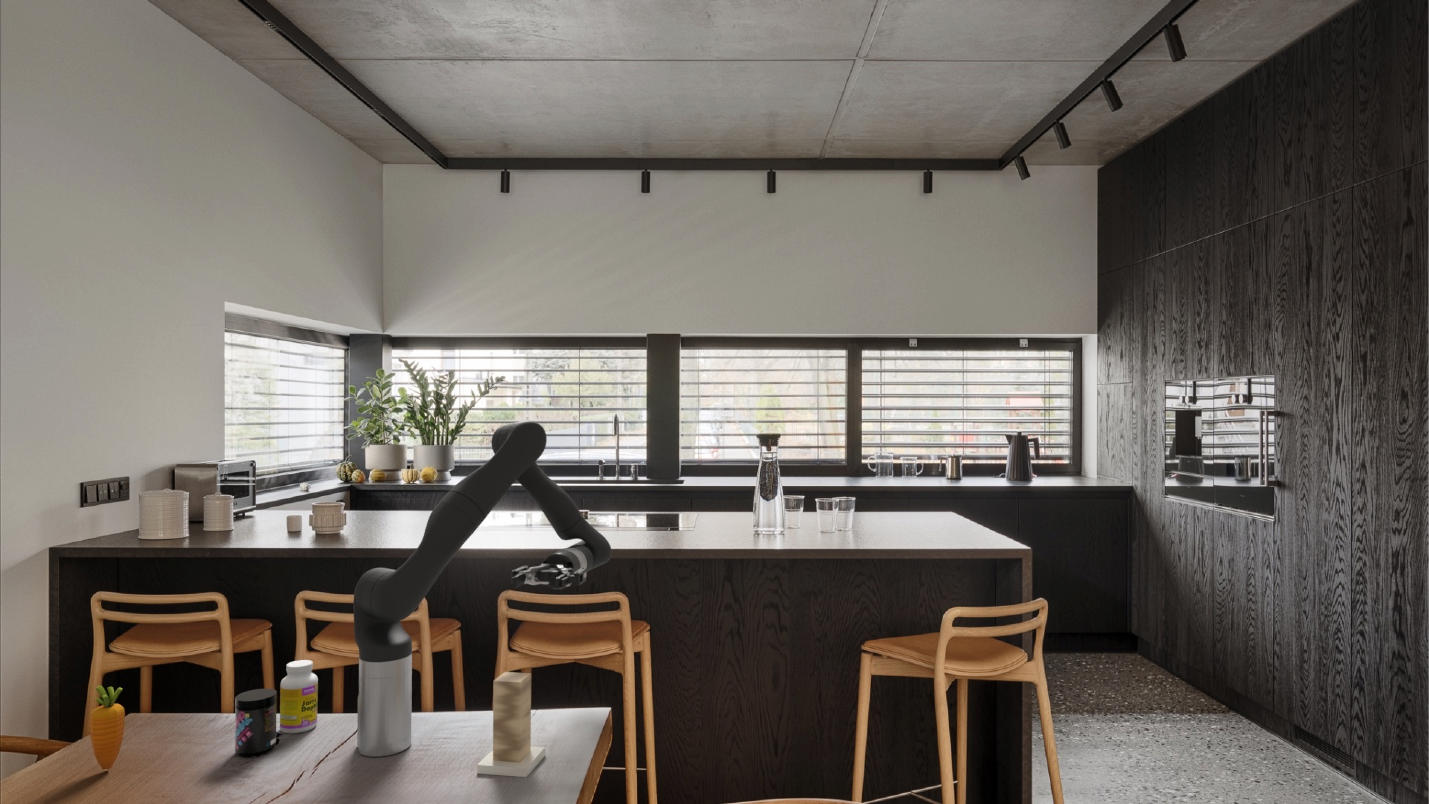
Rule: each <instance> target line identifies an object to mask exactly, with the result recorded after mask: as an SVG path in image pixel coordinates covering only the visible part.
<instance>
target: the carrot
mask: <svg viewBox="0 0 1429 804" xmlns="http://www.w3.org/2000/svg"><path fill="white" fill-rule="evenodd" d="M95 690H96V692H97V694H98V695H99V696H100V697H95V698H94V701H96V702H97V703H98V704H100V706H98V707H96V708H95V709H93V710H92V711H91V712H90V714H89V731H90V732H89V733H90V742H91V746H92V750H93V755H94V757H95V759H96V762H97V763H98V765H99V766H100V768H101V769H102V770H103V769H110V768H111V769H112V767H113V766H114V764H115V762H116V760H117V758H118V755H119V754H120V751H121V746H122V743H123V740H124V739H123V738H124V732H125V717H126V716H125V715H126V711H125V707H124V706H122V705H121V704H119V703H115V702H116V700H117V699H118V697H119V695H120V694H121V692H123V688H122V687H118V688H117V689H116V690H114V687H113V686H109V687H107V691H108V693H107V691H106V690H105V688H104V687H103V686H102V685H97V687H96V688H95ZM108 695H109V696H108Z"/></svg>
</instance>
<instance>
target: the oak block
mask: <svg viewBox="0 0 1429 804" xmlns="http://www.w3.org/2000/svg"><path fill="white" fill-rule="evenodd" d="M492 688H493V689H492V690H493V693H492V694H493V695H492V696H493V699H492V701H493V704H492V708H493V709H492V716H493V717H492V719H493V720H492V721H493V722H492V735H493V736H492V750H493V761H506V762H521V761H522V760H523V759H524V757H525V756H526V755H527V754H528V753H529V752H530V751H531V746H532V743H531V742H532V741H531V739H532V738H531V737H532V736H531V735H532V730H531V729H532V727H531V726H532V719H531V718H532V673H530V672H514V671H512V672H511V671H504V672H503V673H502V674H501V675H499V676H497V677H496V678H495V679H493V687H492Z"/></svg>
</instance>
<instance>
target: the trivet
mask: <svg viewBox="0 0 1429 804" xmlns="http://www.w3.org/2000/svg"><path fill="white" fill-rule="evenodd" d="M545 756H546V746H533V745H531V751H530V752H529V753H528V754H527V755H526V756H525V757H524V759H523V760H522V761H521V762H506V761H493V749H492V750H491V751H490V752H488V754H486V756H485V757H484V758H483V759H482V760H481V761H480V762H479V763H478V764H477V766H476V767H477V768H476V774H478V775H479V774H480V775H481V774H482V775H493V776H507V777H518V778H519V777H520V778H527V777H528V776H529V775H530V774H531V773H532V771H533V770H534V769H535V768H536V767H537V765H539V763H540V762H541V761H542V760H543V759H544V757H545Z"/></svg>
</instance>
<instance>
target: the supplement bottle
mask: <svg viewBox="0 0 1429 804" xmlns="http://www.w3.org/2000/svg"><path fill="white" fill-rule="evenodd" d="M313 666H314V662H313V661H312V660H310V659H309V660H308V659H301V660H294V661H290V662H288V663H287V664H286V669H285V671H286V673H287V675H286V676H285V677H284V678H282V679H281V681H280V697H279V698H280V699H279V701H280V702H279V703H280V705H279V710H280V711H279V730H280V732H282V733H285V734H300V733H305V732H308V731H310V730H312V729H314V728H315V727H316V725H318V694H319V693H318V692H319V691H318V690H319V682H318V681H319V678H318V676H317V675H316V674H315V673H314V672H312V670H313V669H314V667H313Z"/></svg>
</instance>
